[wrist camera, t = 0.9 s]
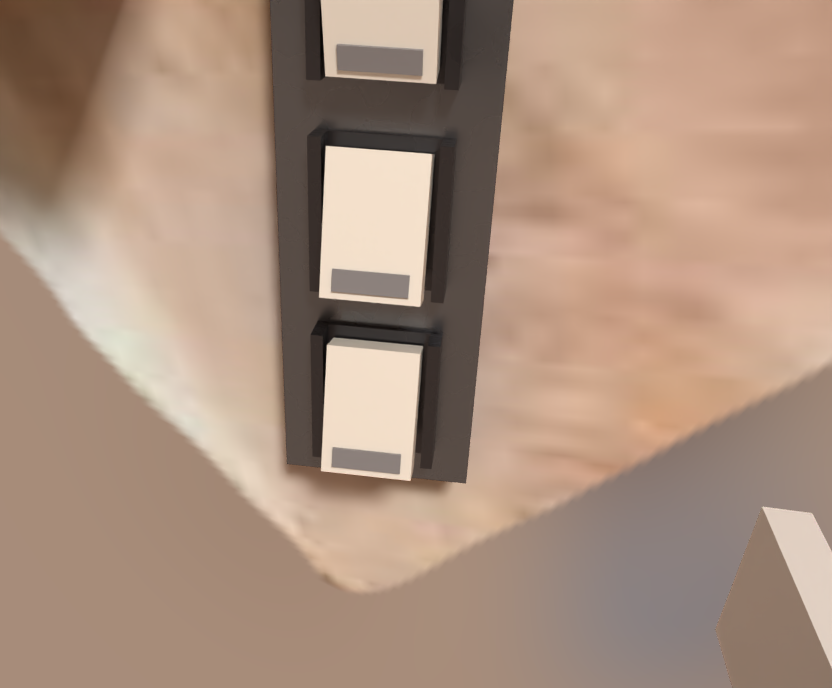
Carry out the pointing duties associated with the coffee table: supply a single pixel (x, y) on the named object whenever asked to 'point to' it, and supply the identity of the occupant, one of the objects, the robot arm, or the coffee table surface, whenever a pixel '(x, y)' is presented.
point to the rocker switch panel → (448, 229)
